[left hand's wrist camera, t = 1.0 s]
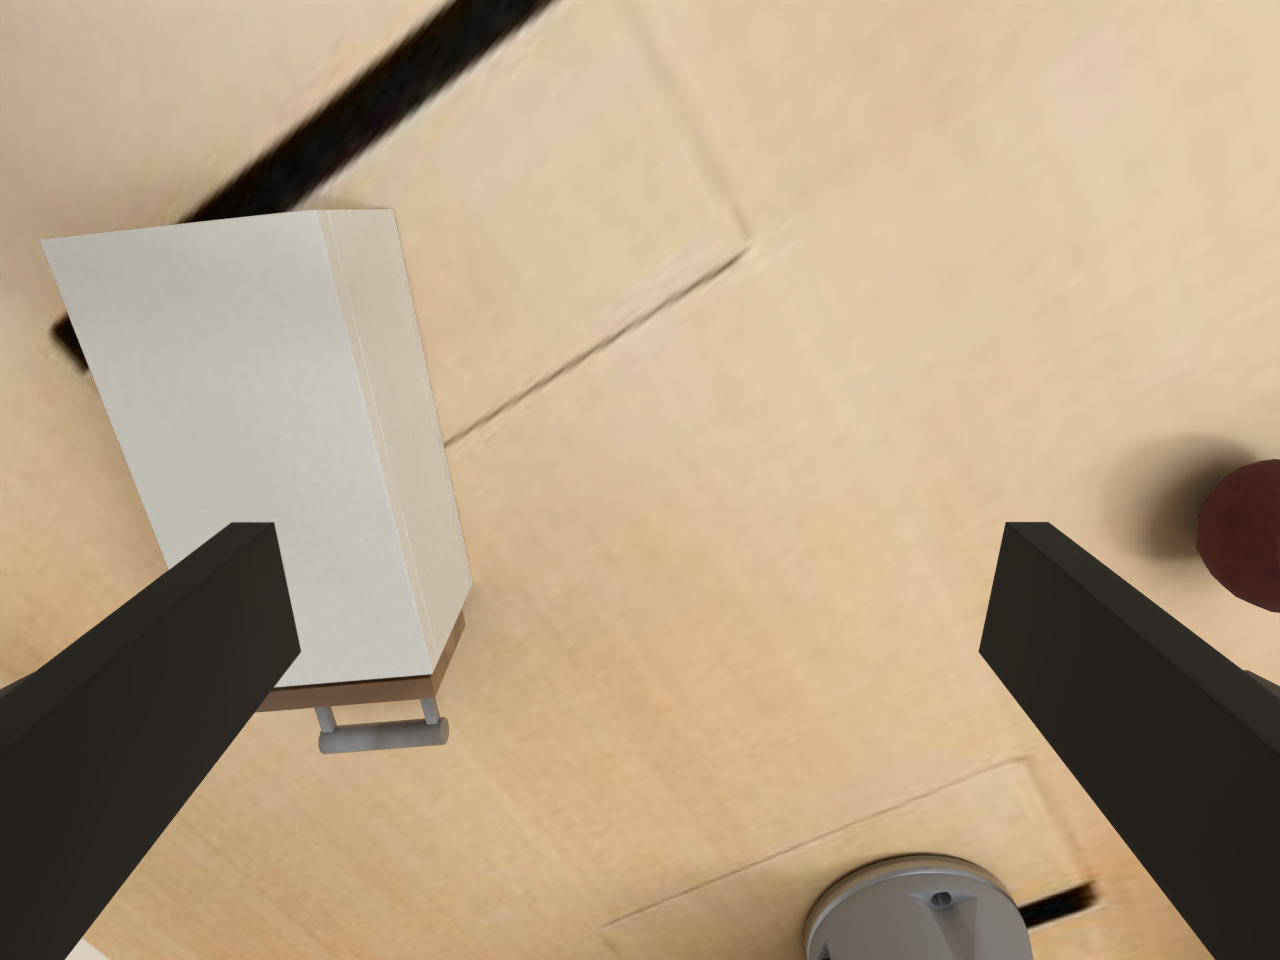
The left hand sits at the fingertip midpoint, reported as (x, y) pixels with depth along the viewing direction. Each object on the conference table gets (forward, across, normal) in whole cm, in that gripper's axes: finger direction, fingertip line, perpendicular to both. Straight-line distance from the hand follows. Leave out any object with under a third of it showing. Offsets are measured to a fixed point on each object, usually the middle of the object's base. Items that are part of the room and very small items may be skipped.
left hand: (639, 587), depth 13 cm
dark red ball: (+24, +32, -9) cm, 41 cm away
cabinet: (+24, -16, -4) cm, 29 cm away
